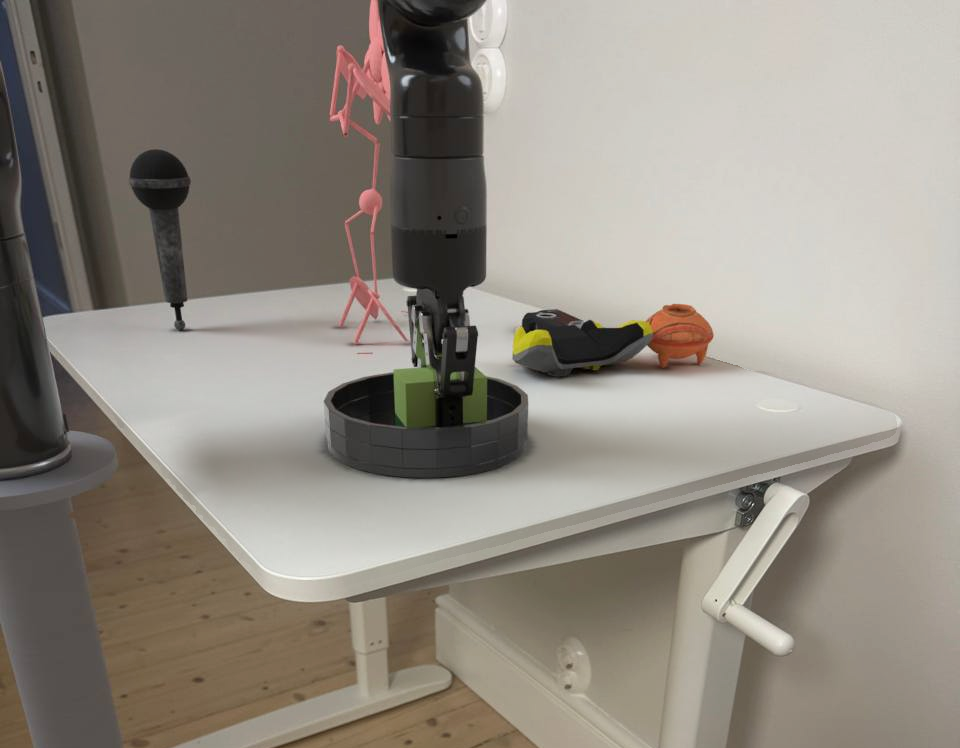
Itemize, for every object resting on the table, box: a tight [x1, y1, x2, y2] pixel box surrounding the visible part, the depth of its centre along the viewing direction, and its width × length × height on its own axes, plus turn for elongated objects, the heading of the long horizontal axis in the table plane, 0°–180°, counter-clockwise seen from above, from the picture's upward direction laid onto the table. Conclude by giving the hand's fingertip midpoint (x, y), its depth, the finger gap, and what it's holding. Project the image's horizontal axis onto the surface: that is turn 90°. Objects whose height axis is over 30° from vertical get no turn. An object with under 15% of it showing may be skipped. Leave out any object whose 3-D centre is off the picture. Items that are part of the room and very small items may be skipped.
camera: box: [521, 308, 585, 332], centre depth 120 cm, size 6×3×11 cm
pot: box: [644, 303, 714, 369], centre depth 109 cm, size 8×8×7 cm
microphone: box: [128, 148, 192, 331], centre depth 116 cm, size 7×7×20 cm
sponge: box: [392, 366, 487, 427], centre depth 84 cm, size 7×4×5 cm, turn 107°
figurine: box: [329, 0, 409, 355], centre depth 113 cm, size 15×26×35 cm, turn 18°
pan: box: [323, 372, 529, 479], centre depth 85 cm, size 17×17×4 cm
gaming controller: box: [512, 319, 653, 377], centre depth 105 cm, size 15×6×10 cm
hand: (441, 430), depth 86 cm, fingers closed on sponge, 4 cm apart
